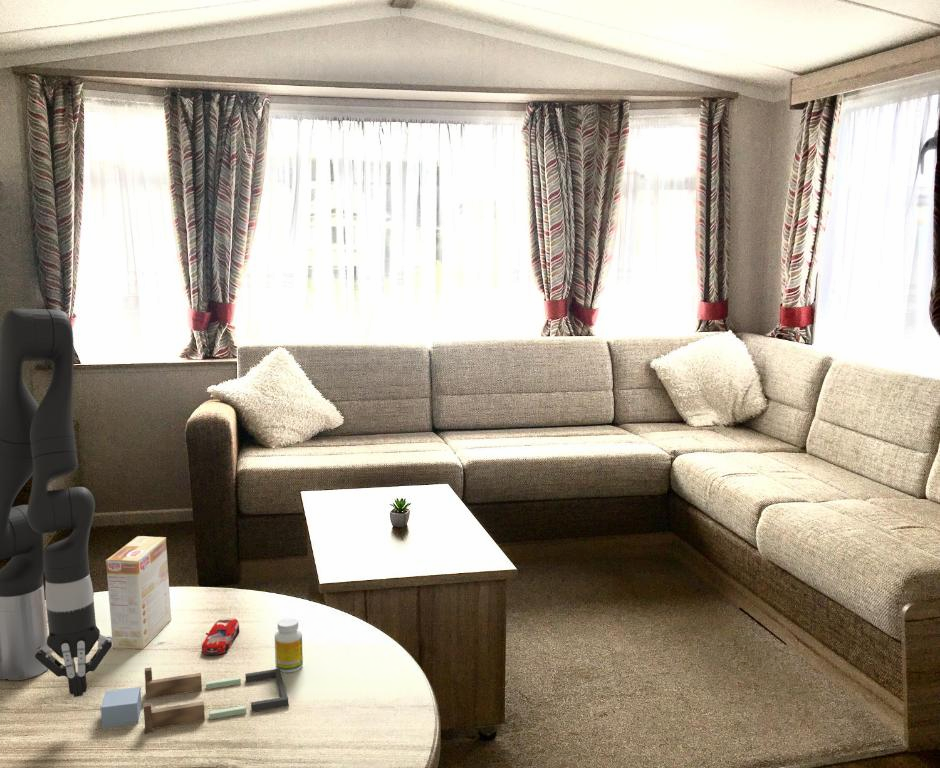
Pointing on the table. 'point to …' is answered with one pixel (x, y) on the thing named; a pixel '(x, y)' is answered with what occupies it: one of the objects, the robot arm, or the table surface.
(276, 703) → the frame
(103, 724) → the block
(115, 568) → the coffeecake box
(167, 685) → the channel
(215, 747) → the table surface
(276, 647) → the supplement bottle
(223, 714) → the rails
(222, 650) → the race car
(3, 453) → the robot arm
